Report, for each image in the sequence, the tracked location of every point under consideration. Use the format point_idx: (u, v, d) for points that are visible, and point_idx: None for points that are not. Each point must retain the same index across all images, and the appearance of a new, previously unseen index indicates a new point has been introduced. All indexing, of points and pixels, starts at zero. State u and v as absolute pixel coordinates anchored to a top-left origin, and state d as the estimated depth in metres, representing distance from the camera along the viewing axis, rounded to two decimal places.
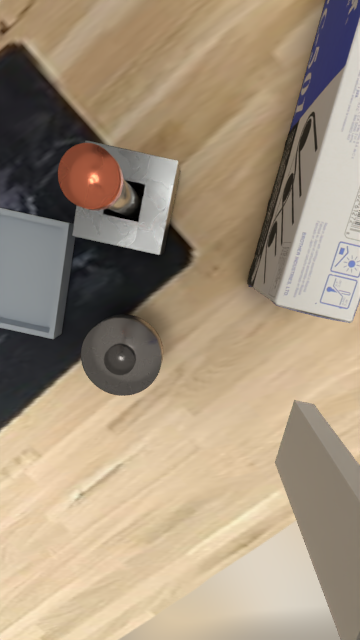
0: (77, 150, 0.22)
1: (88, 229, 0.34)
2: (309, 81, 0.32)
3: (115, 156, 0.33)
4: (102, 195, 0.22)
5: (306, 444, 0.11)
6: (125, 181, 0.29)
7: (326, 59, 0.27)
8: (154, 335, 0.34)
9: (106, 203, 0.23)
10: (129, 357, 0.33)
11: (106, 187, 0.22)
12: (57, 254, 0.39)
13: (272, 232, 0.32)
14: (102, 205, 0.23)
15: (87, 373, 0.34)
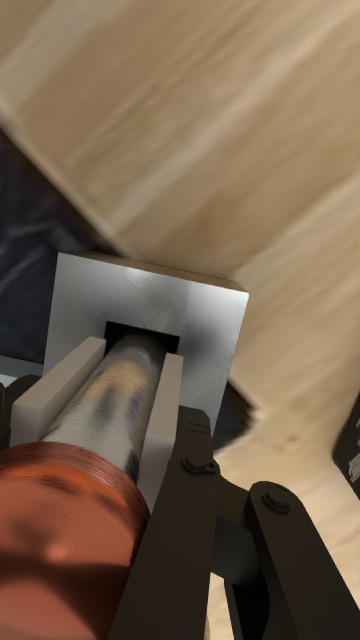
0: None
1: None
2: None
3: (119, 283, 0.16)
4: None
5: None
6: (145, 384, 0.12)
7: None
8: None
9: None
10: None
11: None
12: None
13: None
14: None
15: None
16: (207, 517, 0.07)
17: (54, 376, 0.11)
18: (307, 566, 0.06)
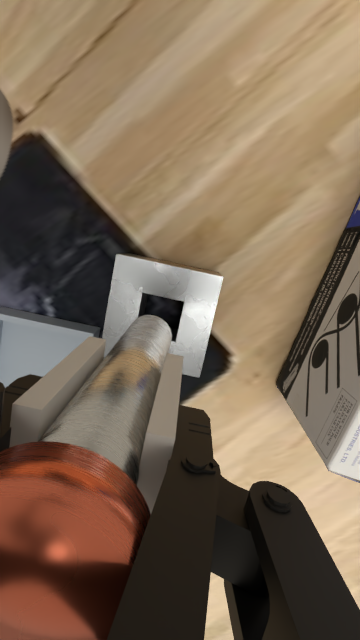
0: None
1: None
2: None
3: (150, 271, 0.28)
4: None
5: None
6: (145, 385, 0.12)
7: None
8: None
9: None
10: None
11: None
12: None
13: (320, 352, 0.28)
14: None
15: None
16: (207, 517, 0.07)
17: (54, 376, 0.11)
18: (307, 566, 0.06)
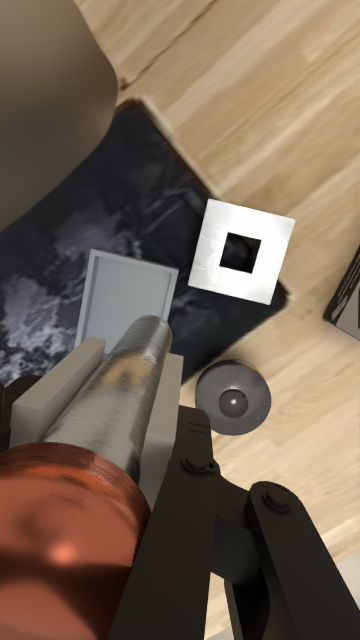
0: None
1: (203, 279, 0.36)
2: None
3: (235, 213, 0.35)
4: None
5: None
6: (146, 385, 0.12)
7: None
8: (265, 381, 0.36)
9: None
10: (243, 402, 0.35)
11: None
12: (160, 295, 0.41)
13: None
14: None
15: None
16: (207, 517, 0.07)
17: (54, 376, 0.11)
18: (307, 566, 0.06)
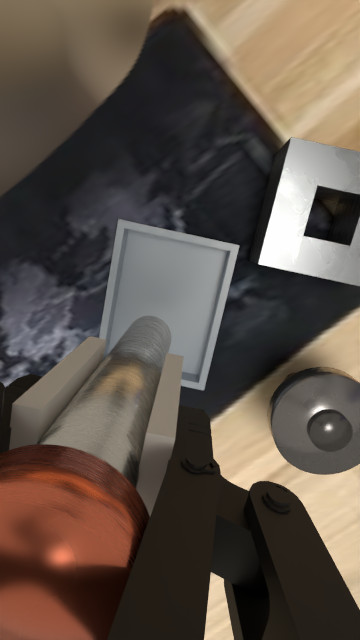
0: None
1: (281, 255, 0.26)
2: None
3: (329, 158, 0.24)
4: None
5: None
6: (145, 386, 0.12)
7: None
8: None
9: None
10: (346, 429, 0.24)
11: None
12: (210, 283, 0.31)
13: None
14: None
15: (278, 446, 0.26)
16: (207, 517, 0.07)
17: (54, 376, 0.11)
18: (307, 566, 0.06)
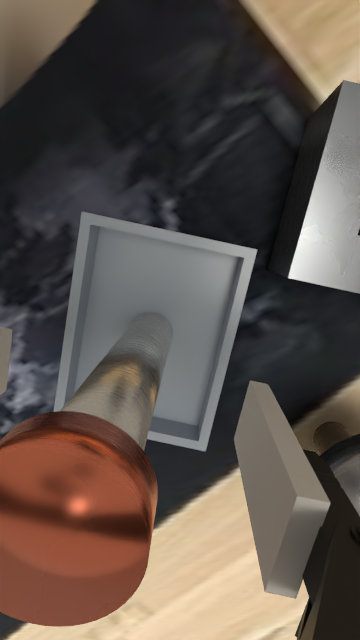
0: (5, 471, 0.06)
1: (322, 265, 0.17)
2: None
3: None
4: (93, 596, 0.07)
5: (254, 418, 0.12)
6: (149, 372, 0.13)
7: None
8: None
9: None
10: None
11: (106, 576, 0.07)
12: (214, 302, 0.22)
13: None
14: None
15: None
16: None
17: None
18: None
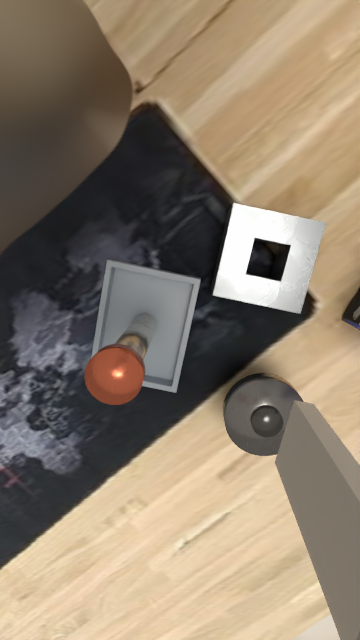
0: (103, 355, 0.23)
1: (229, 289, 0.34)
2: None
3: (262, 218, 0.33)
4: (126, 394, 0.24)
5: (306, 444, 0.11)
6: (143, 339, 0.30)
7: None
8: (299, 396, 0.33)
9: (130, 399, 0.24)
10: (278, 420, 0.33)
11: (130, 387, 0.23)
12: (180, 307, 0.39)
13: None
14: (126, 401, 0.24)
15: (229, 434, 0.34)
16: None
17: None
18: None
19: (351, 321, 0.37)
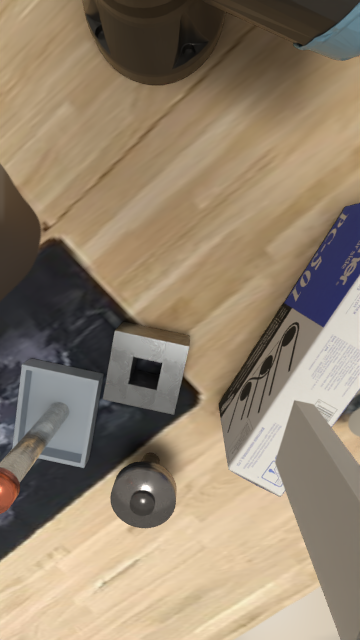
0: None
1: (116, 394, 0.42)
2: (307, 282, 0.39)
3: (138, 342, 0.41)
4: (1, 507, 0.32)
5: (306, 444, 0.11)
6: (35, 445, 0.38)
7: (319, 290, 0.35)
8: (170, 482, 0.41)
9: (5, 510, 0.32)
10: (150, 503, 0.41)
11: (3, 503, 0.32)
12: (87, 398, 0.47)
13: (246, 390, 0.40)
14: (2, 512, 0.32)
15: (115, 511, 0.42)
16: None
17: None
18: None
19: (220, 412, 0.45)
